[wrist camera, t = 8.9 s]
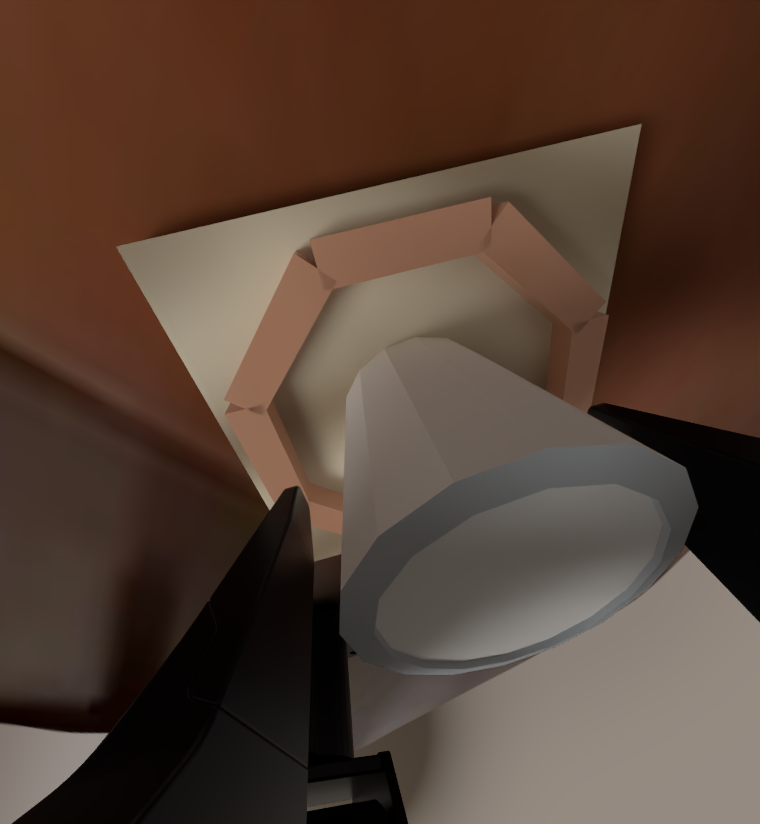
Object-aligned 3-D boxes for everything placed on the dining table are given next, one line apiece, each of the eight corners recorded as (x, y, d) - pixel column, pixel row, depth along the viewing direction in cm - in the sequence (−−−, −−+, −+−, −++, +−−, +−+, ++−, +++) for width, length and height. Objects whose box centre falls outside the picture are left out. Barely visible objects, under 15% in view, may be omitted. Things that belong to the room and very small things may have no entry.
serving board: (557, 473, 17) (572, 489, 16) (302, 543, 16) (301, 565, 15) (606, 135, 9) (641, 123, 8) (139, 244, 9) (115, 246, 8)
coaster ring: (559, 482, 15) (573, 497, 14) (312, 551, 15) (311, 570, 14) (607, 167, 9) (639, 160, 8) (165, 273, 8) (148, 278, 7)
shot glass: (471, 273, 10) (724, 350, 4) (525, 427, 13) (697, 593, 7) (286, 387, 10) (243, 600, 4) (384, 502, 14) (433, 707, 8)
